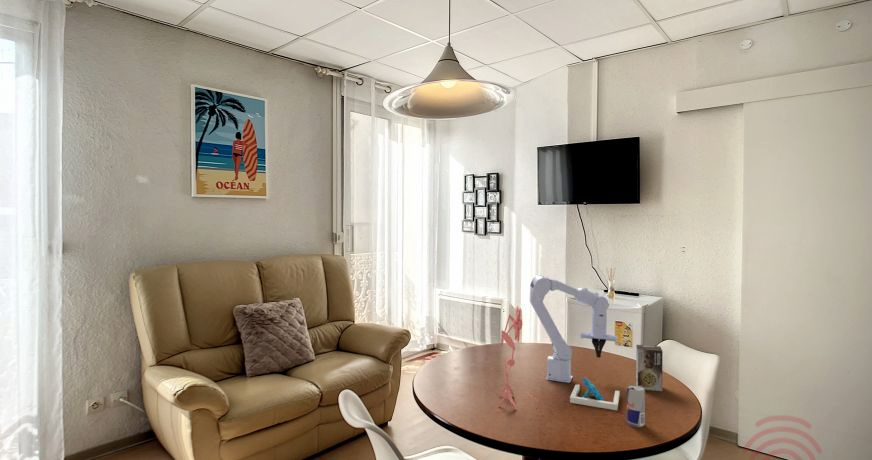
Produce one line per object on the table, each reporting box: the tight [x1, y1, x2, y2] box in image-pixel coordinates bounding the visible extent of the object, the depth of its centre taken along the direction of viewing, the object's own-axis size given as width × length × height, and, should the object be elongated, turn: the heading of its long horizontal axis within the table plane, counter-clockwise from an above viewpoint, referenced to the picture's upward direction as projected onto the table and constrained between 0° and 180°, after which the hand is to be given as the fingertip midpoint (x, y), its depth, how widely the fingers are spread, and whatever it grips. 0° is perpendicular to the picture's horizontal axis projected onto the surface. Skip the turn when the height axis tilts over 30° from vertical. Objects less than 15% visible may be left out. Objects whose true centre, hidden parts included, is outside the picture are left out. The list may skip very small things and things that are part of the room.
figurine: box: [495, 305, 539, 414], centre depth 165 cm, size 15×26×35 cm, turn 171°
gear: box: [582, 377, 605, 401], centre depth 170 cm, size 11×6×10 cm
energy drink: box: [626, 384, 646, 428], centre depth 149 cm, size 5×5×12 cm
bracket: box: [569, 383, 621, 411], centre depth 169 cm, size 16×14×2 cm
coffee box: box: [635, 344, 664, 392], centre depth 181 cm, size 9×6×16 cm
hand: (598, 356), depth 190 cm, fingers closed
